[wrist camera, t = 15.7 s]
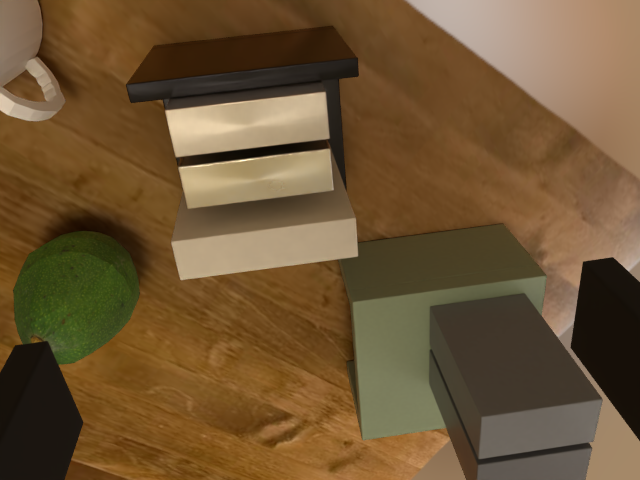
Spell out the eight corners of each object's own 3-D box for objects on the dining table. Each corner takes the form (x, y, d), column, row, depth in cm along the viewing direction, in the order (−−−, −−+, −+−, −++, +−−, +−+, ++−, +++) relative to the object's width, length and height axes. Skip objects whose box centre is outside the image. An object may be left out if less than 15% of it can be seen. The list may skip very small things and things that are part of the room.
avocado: (114, 194, 43) (71, 283, 32) (165, 275, 47) (141, 378, 36) (18, 232, 43) (-54, 332, 33) (77, 309, 47) (29, 420, 37)
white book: (328, 142, 42) (356, 217, 31) (331, 173, 43) (358, 257, 32) (189, 158, 41) (170, 241, 31) (196, 190, 42) (180, 280, 32)
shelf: (503, 223, 48) (633, 378, 32) (493, 352, 55) (595, 533, 39) (336, 245, 47) (383, 415, 31) (347, 373, 54) (389, 566, 38)
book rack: (333, 25, 39) (364, 66, 28) (348, 232, 47) (377, 324, 36) (153, 45, 38) (117, 94, 28) (199, 252, 46) (185, 351, 36)
